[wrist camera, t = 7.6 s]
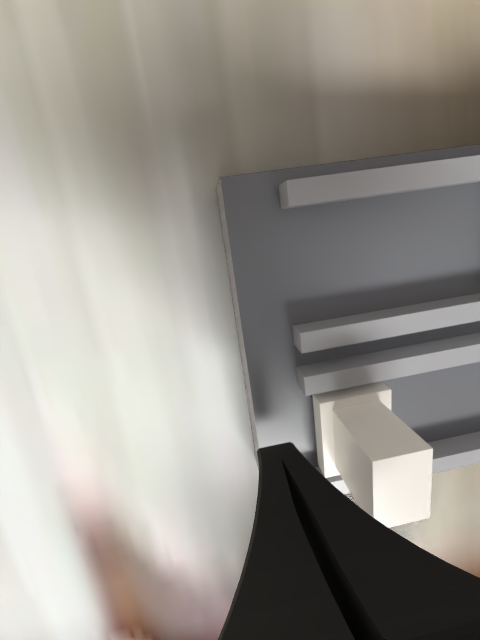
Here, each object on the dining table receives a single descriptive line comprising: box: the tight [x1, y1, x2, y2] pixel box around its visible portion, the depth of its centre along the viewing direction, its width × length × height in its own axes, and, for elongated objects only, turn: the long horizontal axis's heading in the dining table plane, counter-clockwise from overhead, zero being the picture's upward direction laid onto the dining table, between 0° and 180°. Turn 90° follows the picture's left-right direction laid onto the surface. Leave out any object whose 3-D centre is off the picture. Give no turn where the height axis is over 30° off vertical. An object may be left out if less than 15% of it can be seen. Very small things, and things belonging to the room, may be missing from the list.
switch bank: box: [216, 144, 480, 494], centre depth 14 cm, size 16×14×4 cm
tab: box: [312, 381, 433, 528], centre depth 12 cm, size 3×4×4 cm
